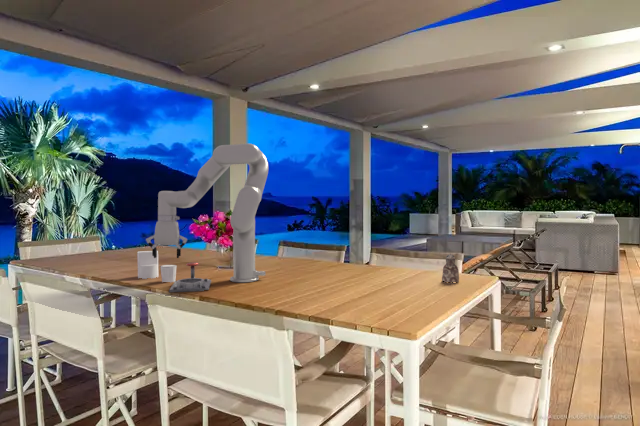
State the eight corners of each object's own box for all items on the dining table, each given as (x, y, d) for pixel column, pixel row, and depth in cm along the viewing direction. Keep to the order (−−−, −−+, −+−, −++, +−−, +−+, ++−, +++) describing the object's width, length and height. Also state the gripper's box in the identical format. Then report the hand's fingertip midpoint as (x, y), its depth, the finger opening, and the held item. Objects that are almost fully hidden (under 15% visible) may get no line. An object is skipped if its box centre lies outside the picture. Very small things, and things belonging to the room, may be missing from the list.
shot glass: (171, 283, 193) (171, 267, 193) (157, 282, 195) (157, 266, 195) (179, 280, 200) (179, 264, 200) (165, 279, 202) (165, 264, 201)
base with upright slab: (158, 274, 214) (158, 249, 213) (158, 278, 205) (157, 252, 205) (138, 276, 211) (138, 250, 211) (137, 279, 203) (136, 253, 202)
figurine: (440, 282, 193) (440, 254, 192) (443, 279, 199) (444, 252, 198) (457, 284, 189) (457, 255, 189) (460, 281, 196) (460, 253, 195)
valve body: (211, 281, 196) (210, 261, 196) (208, 290, 178) (208, 268, 177) (175, 283, 194) (175, 262, 193) (169, 292, 175) (168, 270, 175)
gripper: (188, 218, 202) (187, 256, 202) (148, 218, 198) (147, 256, 199) (186, 219, 194) (186, 258, 195) (144, 219, 191) (144, 259, 192)
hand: (166, 257), depth 197 cm, fingers open, 9 cm apart
